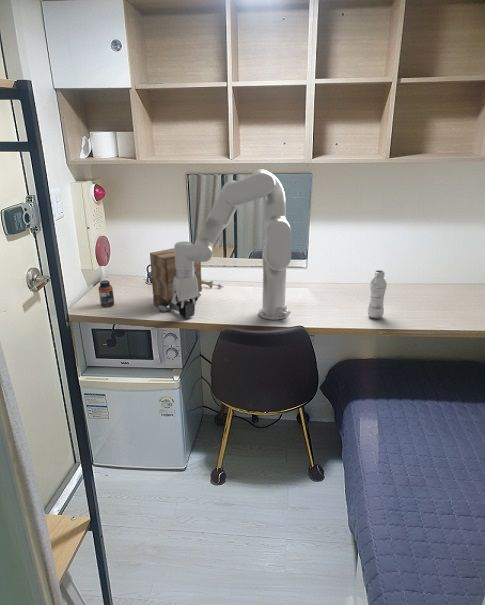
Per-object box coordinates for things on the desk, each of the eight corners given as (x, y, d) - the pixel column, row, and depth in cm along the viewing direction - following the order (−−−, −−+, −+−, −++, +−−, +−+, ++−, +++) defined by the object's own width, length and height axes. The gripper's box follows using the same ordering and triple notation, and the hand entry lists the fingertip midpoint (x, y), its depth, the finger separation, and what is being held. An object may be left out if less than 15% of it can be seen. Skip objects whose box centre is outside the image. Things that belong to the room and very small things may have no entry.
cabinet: (203, 303, 207) (201, 251, 198) (169, 313, 196) (166, 259, 187) (187, 295, 216) (184, 246, 208) (153, 304, 205) (149, 252, 197)
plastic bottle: (373, 321, 188) (379, 275, 180) (363, 315, 193) (368, 270, 186) (386, 319, 190) (392, 273, 183) (375, 313, 196) (380, 268, 188)
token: (172, 310, 199) (172, 305, 198) (162, 313, 196) (162, 308, 195) (166, 307, 202) (166, 302, 201) (156, 310, 199) (156, 304, 198)
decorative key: (223, 294, 226) (184, 285, 229) (223, 293, 227) (185, 284, 230) (225, 281, 224) (186, 272, 226) (225, 281, 225) (187, 272, 227)
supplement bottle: (107, 302, 209) (104, 278, 205) (117, 304, 206) (114, 280, 202) (97, 306, 204) (94, 282, 200) (108, 308, 201) (105, 284, 197)
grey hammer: (193, 315, 191) (193, 303, 189) (185, 318, 189) (185, 305, 187) (170, 303, 204) (170, 292, 202) (163, 305, 202) (162, 294, 200)
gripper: (196, 266, 192) (198, 307, 199) (162, 274, 182) (165, 316, 189) (207, 270, 187) (208, 312, 193) (172, 279, 177) (174, 322, 183)
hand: (187, 314), depth 191 cm, fingers closed on grey hammer, 4 cm apart
